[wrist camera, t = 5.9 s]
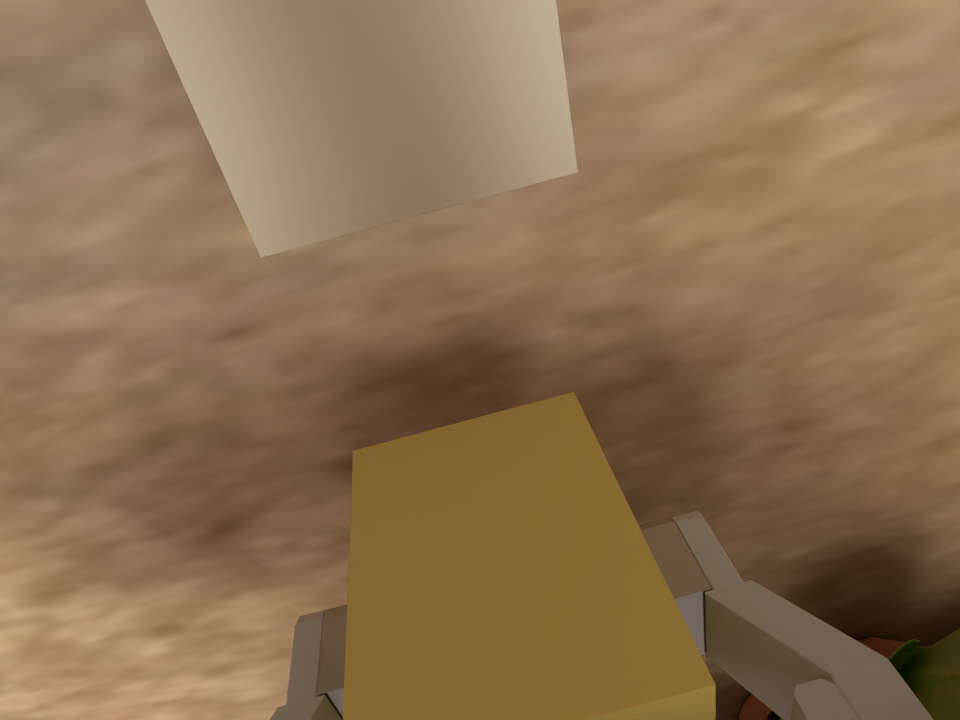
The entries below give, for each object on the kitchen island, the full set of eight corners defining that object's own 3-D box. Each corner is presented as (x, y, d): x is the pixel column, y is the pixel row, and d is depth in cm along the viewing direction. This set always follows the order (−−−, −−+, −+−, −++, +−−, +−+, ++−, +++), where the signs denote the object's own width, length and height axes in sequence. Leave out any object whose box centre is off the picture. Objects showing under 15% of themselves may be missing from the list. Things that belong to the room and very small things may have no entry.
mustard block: (573, 391, 12) (715, 684, 7) (598, 540, 15) (717, 837, 10) (352, 450, 12) (340, 786, 7) (414, 590, 15) (436, 913, 10)
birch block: (448, -165, 11) (520, -276, 6) (497, 97, 14) (577, 172, 9) (203, -101, 11) (72, -162, 6) (298, 150, 13) (261, 257, 8)
